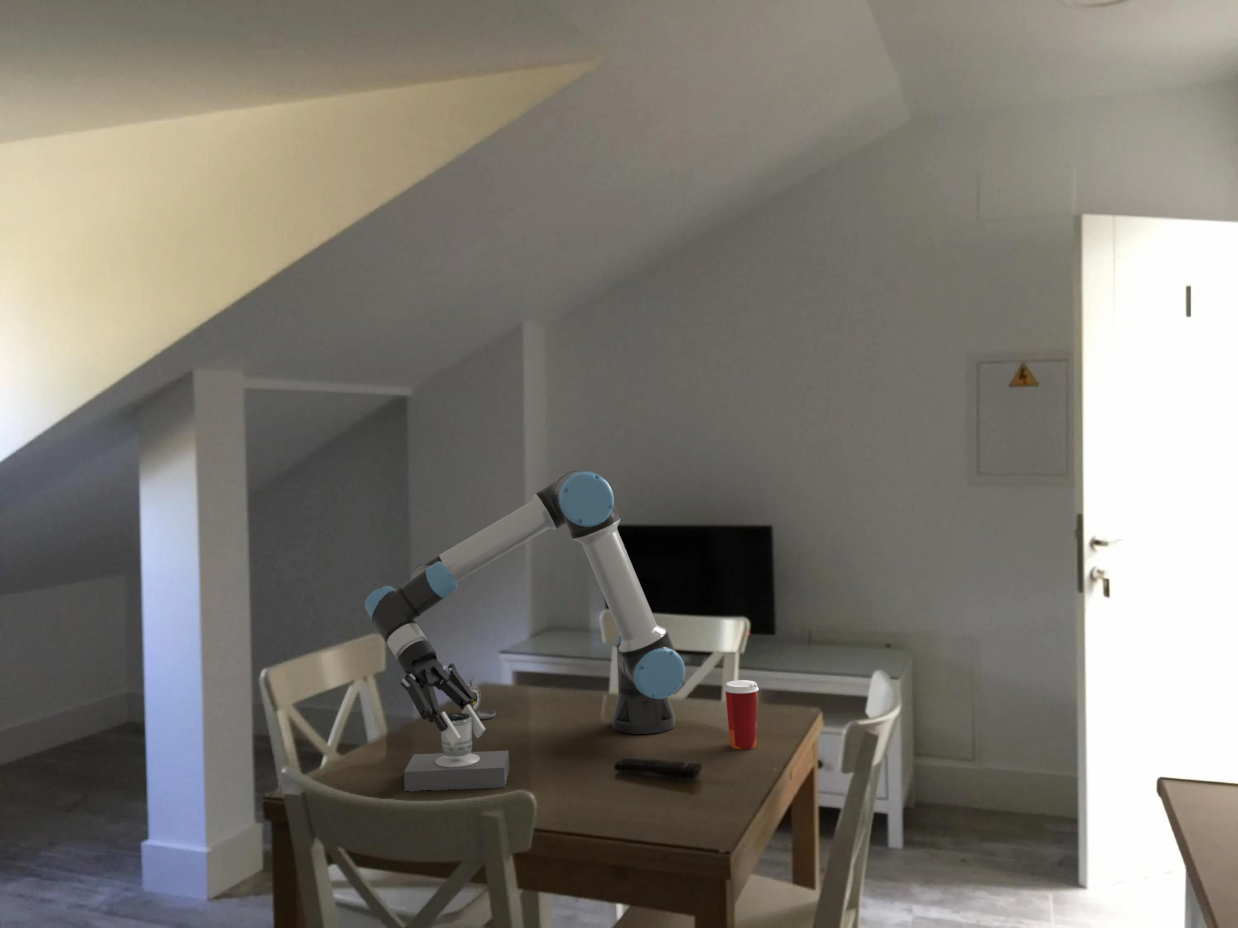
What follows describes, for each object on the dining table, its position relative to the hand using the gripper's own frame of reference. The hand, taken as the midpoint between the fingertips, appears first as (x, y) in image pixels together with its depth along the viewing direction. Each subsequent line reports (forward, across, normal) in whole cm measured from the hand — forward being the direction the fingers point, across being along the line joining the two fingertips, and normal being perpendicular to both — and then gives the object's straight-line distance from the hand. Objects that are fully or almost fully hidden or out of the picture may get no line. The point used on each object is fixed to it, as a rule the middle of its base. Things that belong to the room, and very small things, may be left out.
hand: (469, 737), depth 222 cm
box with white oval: (+4, 0, -9) cm, 10 cm away
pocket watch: (-20, -39, -33) cm, 55 cm away
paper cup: (+30, -51, +16) cm, 62 cm away
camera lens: (0, 0, -5) cm, 5 cm away
